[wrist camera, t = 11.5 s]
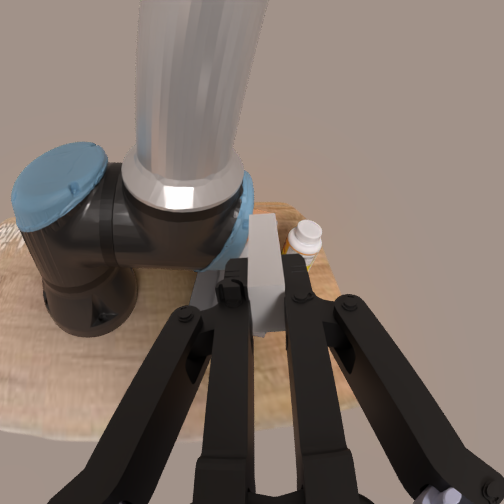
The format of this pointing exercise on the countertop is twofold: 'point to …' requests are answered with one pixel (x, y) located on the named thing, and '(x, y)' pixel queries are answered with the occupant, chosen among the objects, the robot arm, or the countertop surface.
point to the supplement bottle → (304, 241)
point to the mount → (209, 291)
